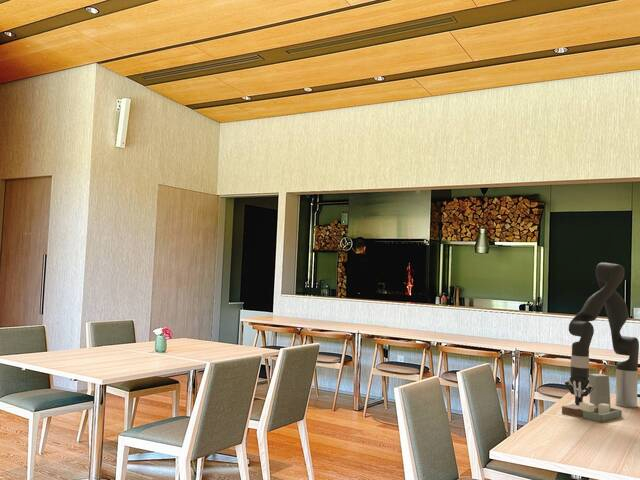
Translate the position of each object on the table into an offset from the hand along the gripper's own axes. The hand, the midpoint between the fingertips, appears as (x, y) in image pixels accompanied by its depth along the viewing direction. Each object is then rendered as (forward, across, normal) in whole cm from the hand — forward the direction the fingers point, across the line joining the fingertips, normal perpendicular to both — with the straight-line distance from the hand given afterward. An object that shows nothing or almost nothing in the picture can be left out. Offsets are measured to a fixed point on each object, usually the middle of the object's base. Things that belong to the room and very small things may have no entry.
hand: (578, 405), depth 264 cm
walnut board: (+4, +1, -5) cm, 7 cm away
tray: (+4, -8, -5) cm, 11 cm away
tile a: (+2, -5, -10) cm, 11 cm away
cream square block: (+1, -4, 0) cm, 4 cm away
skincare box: (+4, +2, -23) cm, 24 cm away
